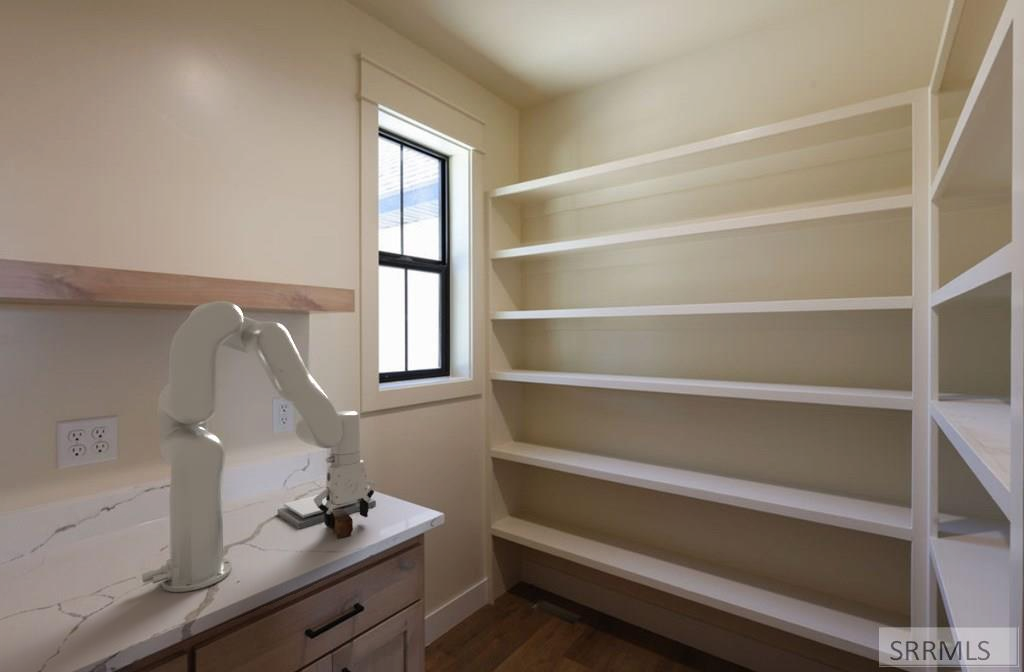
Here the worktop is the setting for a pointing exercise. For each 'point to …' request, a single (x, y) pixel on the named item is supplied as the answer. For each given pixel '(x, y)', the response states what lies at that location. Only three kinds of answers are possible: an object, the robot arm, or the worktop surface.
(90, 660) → the worktop surface
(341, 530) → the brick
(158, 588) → the worktop surface
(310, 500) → the scale
